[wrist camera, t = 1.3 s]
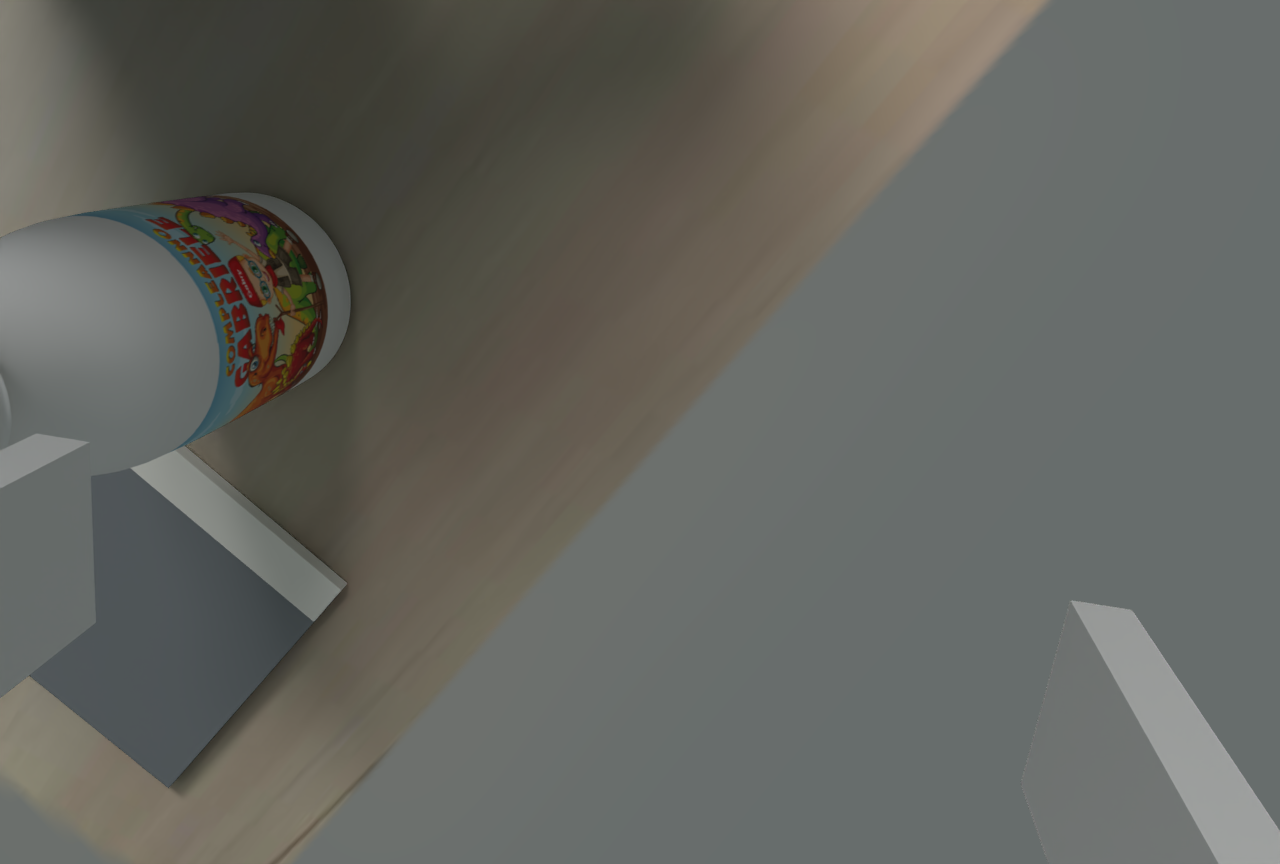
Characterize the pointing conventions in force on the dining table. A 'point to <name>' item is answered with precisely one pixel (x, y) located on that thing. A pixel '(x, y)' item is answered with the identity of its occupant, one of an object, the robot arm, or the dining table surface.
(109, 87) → the dining table surface
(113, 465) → the milk bottle
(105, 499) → the mat
